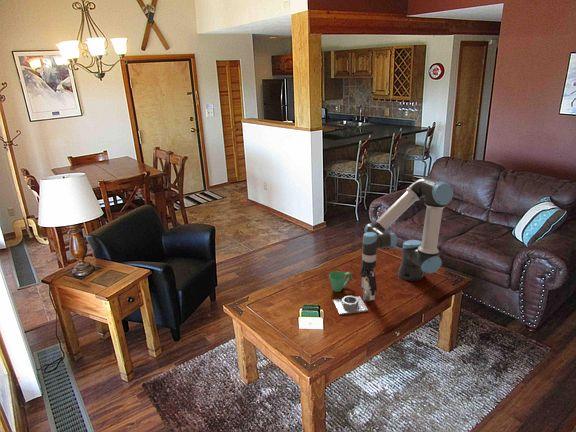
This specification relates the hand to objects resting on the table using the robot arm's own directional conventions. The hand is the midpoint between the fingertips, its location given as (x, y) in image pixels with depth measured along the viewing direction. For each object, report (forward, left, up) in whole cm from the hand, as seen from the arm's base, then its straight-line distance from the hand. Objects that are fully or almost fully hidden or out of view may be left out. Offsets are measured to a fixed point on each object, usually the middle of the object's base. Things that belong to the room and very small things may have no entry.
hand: (367, 293), depth 228 cm
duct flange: (+12, +5, -4) cm, 14 cm away
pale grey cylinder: (0, 0, -4) cm, 4 cm away
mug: (+12, -14, -4) cm, 19 cm away
